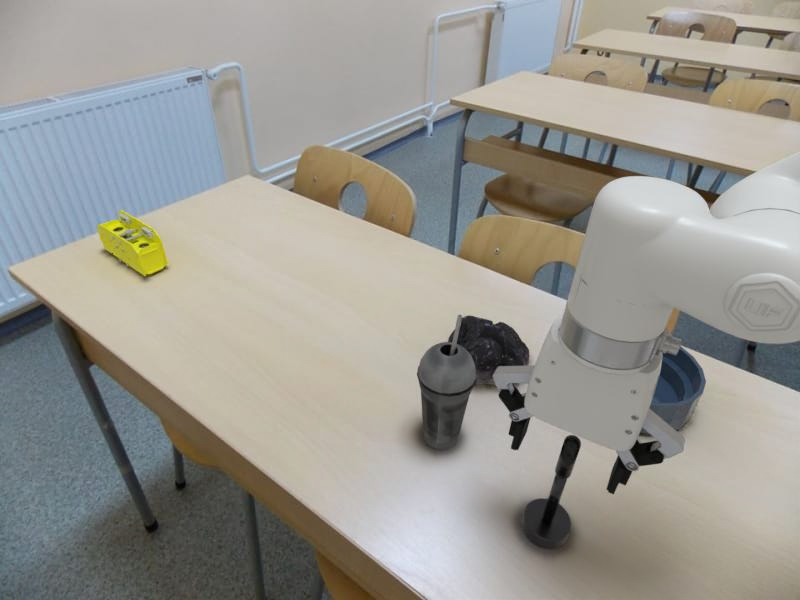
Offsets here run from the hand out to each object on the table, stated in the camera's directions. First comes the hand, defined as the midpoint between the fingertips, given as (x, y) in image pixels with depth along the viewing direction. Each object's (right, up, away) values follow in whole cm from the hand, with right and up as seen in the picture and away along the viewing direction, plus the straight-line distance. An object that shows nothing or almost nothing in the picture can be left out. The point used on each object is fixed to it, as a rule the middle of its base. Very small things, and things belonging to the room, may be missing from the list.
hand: (564, 460), depth 52 cm
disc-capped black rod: (0, -10, +7) cm, 12 cm away
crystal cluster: (-3, +6, +30) cm, 30 cm away
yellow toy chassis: (-70, +24, +52) cm, 90 cm away
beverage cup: (-11, -2, +17) cm, 21 cm away
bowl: (+18, +2, +24) cm, 30 cm away
